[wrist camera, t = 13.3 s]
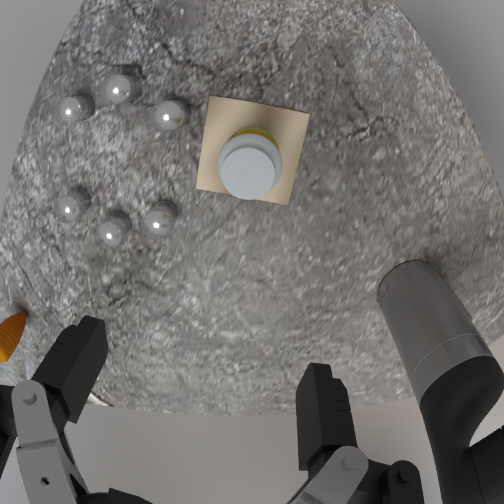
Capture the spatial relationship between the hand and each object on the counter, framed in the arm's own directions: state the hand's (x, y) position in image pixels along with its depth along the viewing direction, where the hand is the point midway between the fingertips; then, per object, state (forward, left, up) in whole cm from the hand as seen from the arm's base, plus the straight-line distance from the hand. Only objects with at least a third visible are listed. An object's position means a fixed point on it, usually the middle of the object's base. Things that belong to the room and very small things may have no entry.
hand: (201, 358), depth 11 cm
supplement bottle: (0, -3, -24) cm, 24 cm away
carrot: (+35, +29, -25) cm, 51 cm away
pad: (0, -3, -25) cm, 25 cm away
